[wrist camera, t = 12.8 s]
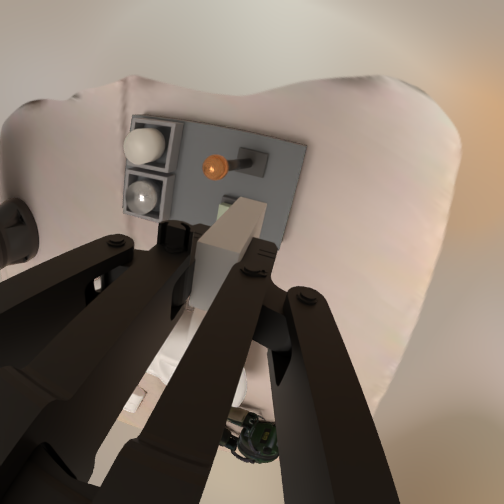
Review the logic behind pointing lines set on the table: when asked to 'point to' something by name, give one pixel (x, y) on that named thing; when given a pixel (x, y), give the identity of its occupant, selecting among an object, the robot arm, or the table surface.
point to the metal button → (144, 195)
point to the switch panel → (216, 192)
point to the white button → (144, 145)
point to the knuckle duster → (134, 400)
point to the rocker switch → (222, 209)
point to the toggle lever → (223, 166)
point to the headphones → (251, 437)
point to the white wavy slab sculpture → (183, 349)
